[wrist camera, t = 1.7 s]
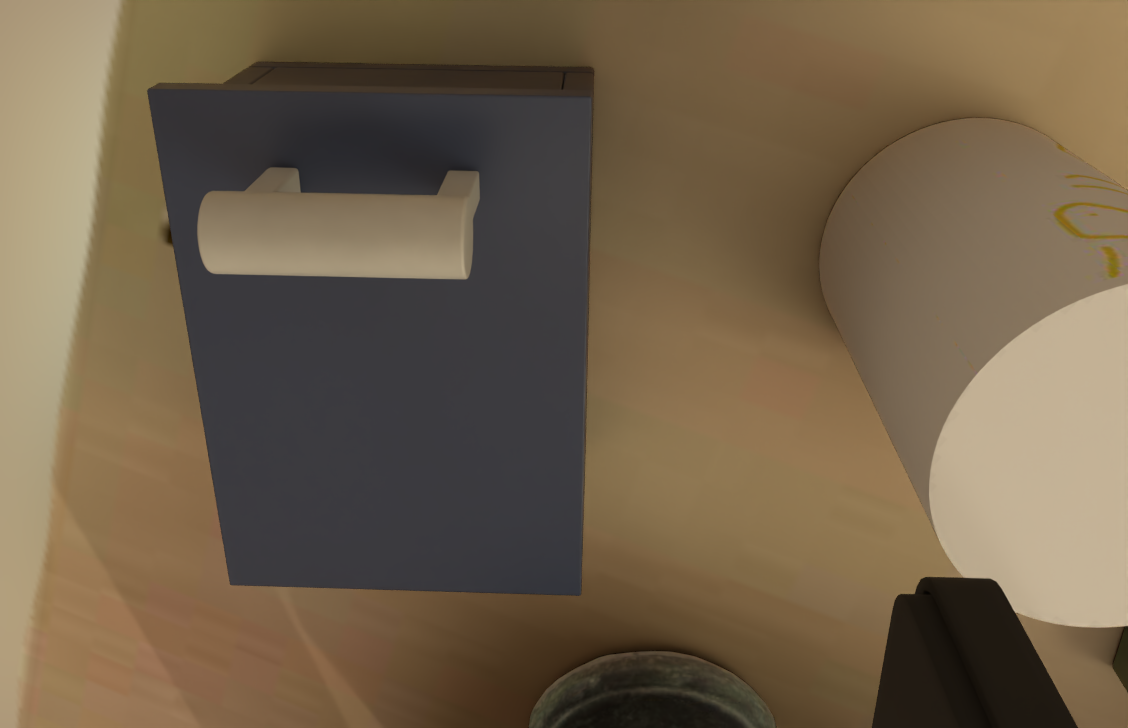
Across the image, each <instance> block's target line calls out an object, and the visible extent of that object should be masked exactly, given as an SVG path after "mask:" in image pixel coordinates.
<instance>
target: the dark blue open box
mask: <svg viewBox="0 0 1128 728" xmlns="http://www.w3.org/2000/svg"><path fill="white" fill-rule="evenodd" d="M223 84H261V85H318V86H376V87H433V88H491V89H548V90H590V91H592V135H591V180H590V226H589V271H588V317H587V362H586V408H585V453H584V487H585V454H586V411H587V367H588V322H589V278H590V233H591V189H592V145H593V100H594V69H593V68H591V67H545V66H486V65H426V64H367V63H307V62H256V63H254V64H253V65H251V66H249V67H248V68H246V69H245V70H243V71H242V72H240V73H238V74H237V75H235V76H234V77H232V78H230V79H229V80H227V81H226V82H224V83H223ZM583 520H584V499H583ZM582 554H583V544H582Z"/></svg>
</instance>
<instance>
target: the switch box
mask: <svg viewBox="0 0 1128 728" xmlns="http://www.w3.org/2000/svg"><path fill="white" fill-rule="evenodd" d="M1113 669H1114V671H1115V672H1116V674H1117V676H1118V677H1119V679H1120V681H1121V682H1122V684H1123V685H1124V687H1125V689H1126V690H1127V692H1128V626H1125V629H1124V632H1123V635H1122V639H1121V642H1120V645H1119V648H1118V651H1117V654H1116V657H1115V660H1114V663H1113Z"/></svg>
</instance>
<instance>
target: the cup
mask: <svg viewBox="0 0 1128 728" xmlns="http://www.w3.org/2000/svg"><path fill="white" fill-rule="evenodd" d="M819 275H820V283H821V288H822V293H823V296H824V299H825V302H826V305H827V307H828V309H829V312H830V314H831V316H832V318H833V320H834V322H835V324H836V326H837V328H838V330H839V333H840V335H841V337H842V339H843V341H844V343H845V345H846V347H847V349H848V351H849V353H850V355H851V358H852V360H853V362H854V364H855V366H856V368H857V370H858V372H859V374H860V376H861V378H862V381H863V383H864V385H865V387H866V389H867V391H868V393H869V395H870V397H871V399H872V401H873V403H874V406H875V408H876V410H877V412H878V414H879V416H880V418H881V420H882V422H883V424H884V426H885V429H886V431H887V433H888V435H889V437H890V439H891V441H892V443H893V445H894V447H895V449H896V451H897V454H898V456H899V458H900V460H901V462H902V464H903V466H904V468H905V470H906V472H907V474H908V477H909V479H910V481H911V483H912V485H913V487H914V489H915V491H916V493H917V495H918V497H919V500H920V502H921V504H922V506H923V508H924V510H925V512H926V514H927V516H928V518H929V520H930V522H931V525H932V527H933V529H934V531H935V533H936V535H937V537H938V539H939V541H940V543H941V545H942V547H943V549H944V551H945V553H946V555H947V556H948V558H949V559H950V561H951V562H952V564H953V565H954V566H955V568H956V569H957V570H958V571H959V573H960V574H961V575H962V576H963V577H964V578H990V579H992V580H994V581H996V582H997V583H998V584H999V586H1000V587H1001V588H1002V590H1003V592H1004V593H1005V595H1006V597H1007V599H1008V601H1009V603H1010V604H1011V606H1012V608H1013V610H1014V612H1017V613H1019V614H1022V615H1024V616H1027V617H1030V618H1034V619H1037V620H1040V621H1045V622H1049V623H1054V624H1060V625H1066V626H1075V627H1093V628H1102V627H1121V626H1128V190H1127V189H1125V188H1124V187H1122V186H1121V185H1119V184H1118V183H1116V182H1115V181H1113V180H1112V179H1110V178H1109V177H1107V176H1106V175H1104V174H1103V173H1101V172H1100V171H1098V170H1097V169H1095V168H1094V167H1092V166H1091V165H1089V164H1088V163H1086V162H1085V161H1083V160H1082V159H1080V158H1079V157H1077V156H1076V155H1074V154H1073V153H1071V152H1070V151H1068V150H1067V149H1065V148H1064V147H1062V146H1061V145H1059V144H1058V143H1056V142H1055V141H1053V140H1052V139H1050V138H1049V137H1047V136H1045V135H1044V134H1042V133H1040V132H1038V131H1036V130H1034V129H1032V128H1030V127H1027V126H1024V125H1021V124H1018V123H1014V122H1011V121H1006V120H1000V119H992V118H965V119H957V120H951V121H946V122H941V123H938V124H934V125H931V126H928V127H925V128H923V129H920V130H917V131H915V132H913V133H911V134H908V135H907V136H905V137H903V138H901V139H899V140H897V141H896V142H894V143H892V144H891V145H889V146H888V147H886V148H885V149H883V150H882V151H881V152H879V153H878V154H877V155H876V156H874V157H873V158H872V159H871V160H870V161H868V162H867V163H866V164H865V165H864V166H863V167H862V168H861V169H860V170H859V171H858V172H857V174H856V175H855V176H854V177H853V178H852V179H851V181H850V182H849V183H848V184H847V186H846V187H845V189H844V190H843V192H842V193H841V195H840V196H839V198H838V200H837V201H836V203H835V205H834V207H833V209H832V211H831V213H830V215H829V218H828V221H827V223H826V226H825V229H824V233H823V237H822V241H821V247H820V254H819Z"/></svg>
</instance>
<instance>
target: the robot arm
mask: <svg viewBox="0 0 1128 728" xmlns="http://www.w3.org/2000/svg"><path fill="white" fill-rule="evenodd" d="M872 728H1078V727H1077V725H1076V723H1075V722H1074V720H1073V718H1072V716H1071V714H1070V712H1069V711H1068V709H1067V707H1066V705H1065V703H1064V701H1063V700H1062V698H1061V696H1060V694H1059V692H1058V690H1057V689H1056V687H1055V685H1054V683H1053V681H1052V679H1051V678H1050V676H1049V674H1048V672H1047V670H1046V668H1045V667H1044V665H1043V663H1042V661H1041V659H1040V658H1039V656H1038V654H1037V652H1036V650H1035V648H1034V647H1033V645H1032V643H1031V641H1030V639H1029V637H1028V636H1027V634H1026V632H1025V630H1024V628H1023V626H1022V625H1021V623H1020V621H1019V619H1018V617H1017V615H1016V614H1015V612H1014V610H1013V608H1012V606H1011V604H1010V603H1009V601H1008V599H1007V597H1006V595H1005V593H1004V592H1003V590H1002V588H1001V587H1000V586H999V584H998V583H997V582H996V581H994V580H992V579H990V578H946V577H925V578H923V579H921V580H920V582H919V584H918V585H917V588H916V592H915V594H900V595H898V596H897V598H896V600H895V602H894V606H893V611H892V616H891V622H890V628H889V633H888V639H887V645H886V650H885V656H884V662H883V667H882V673H881V679H880V684H879V690H878V696H877V702H876V707H875V713H874V719H873V724H872Z"/></svg>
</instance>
